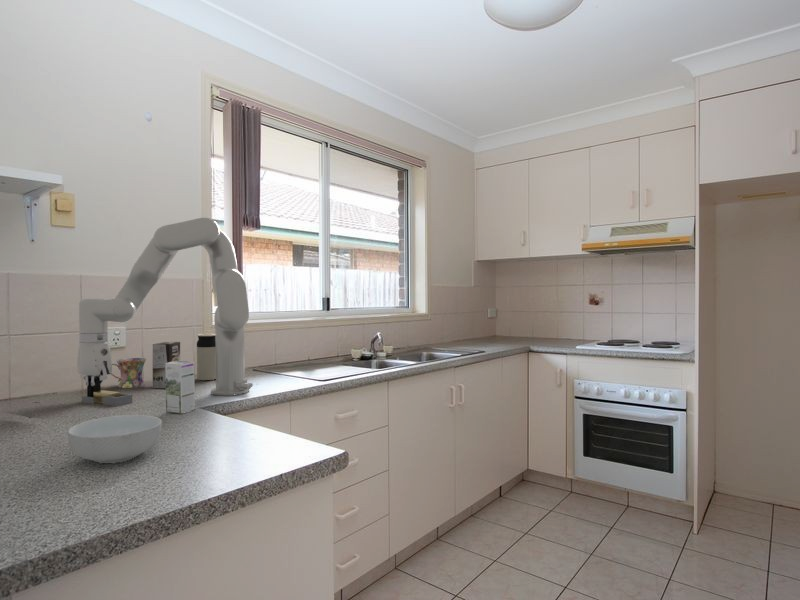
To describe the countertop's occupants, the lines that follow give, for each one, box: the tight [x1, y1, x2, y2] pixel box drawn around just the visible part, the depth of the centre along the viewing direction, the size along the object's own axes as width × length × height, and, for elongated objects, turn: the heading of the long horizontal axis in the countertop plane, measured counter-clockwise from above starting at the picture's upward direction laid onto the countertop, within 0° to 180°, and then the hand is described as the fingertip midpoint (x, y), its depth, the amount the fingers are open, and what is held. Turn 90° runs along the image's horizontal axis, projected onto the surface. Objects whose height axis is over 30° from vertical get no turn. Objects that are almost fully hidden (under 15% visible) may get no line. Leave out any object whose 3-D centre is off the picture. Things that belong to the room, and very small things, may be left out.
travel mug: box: [196, 333, 216, 381], centre depth 196 cm, size 8×8×18 cm
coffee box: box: [151, 341, 181, 389], centre depth 181 cm, size 9×6×16 cm
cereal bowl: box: [67, 414, 163, 464], centre depth 102 cm, size 17×17×7 cm
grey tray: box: [81, 392, 133, 407], centre depth 149 cm, size 15×24×4 cm, turn 157°
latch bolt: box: [94, 389, 122, 404], centre depth 149 cm, size 8×3×3 cm, turn 67°
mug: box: [110, 357, 147, 389], centre depth 175 cm, size 12×9×11 cm
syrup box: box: [165, 360, 196, 414], centre depth 142 cm, size 6×6×14 cm
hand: (94, 397), depth 151 cm, fingers closed
